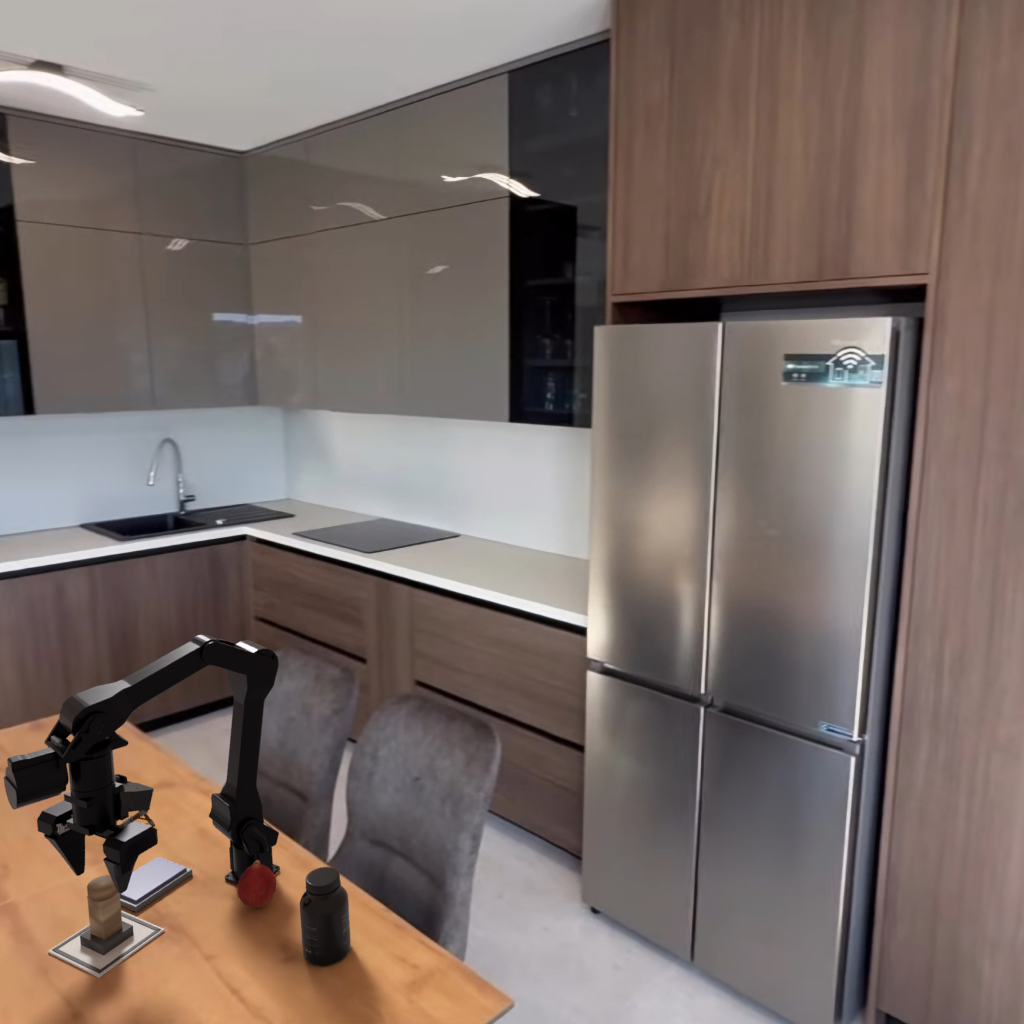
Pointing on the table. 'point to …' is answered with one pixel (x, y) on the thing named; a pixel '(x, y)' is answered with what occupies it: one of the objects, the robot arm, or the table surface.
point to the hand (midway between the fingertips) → (101, 882)
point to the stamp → (104, 917)
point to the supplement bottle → (324, 918)
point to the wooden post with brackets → (138, 816)
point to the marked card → (102, 964)
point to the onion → (256, 885)
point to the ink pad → (152, 882)
